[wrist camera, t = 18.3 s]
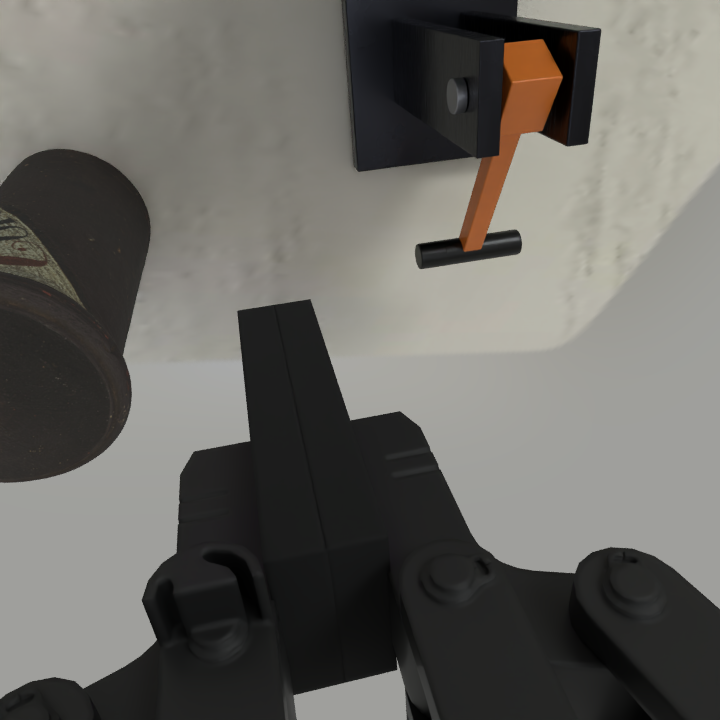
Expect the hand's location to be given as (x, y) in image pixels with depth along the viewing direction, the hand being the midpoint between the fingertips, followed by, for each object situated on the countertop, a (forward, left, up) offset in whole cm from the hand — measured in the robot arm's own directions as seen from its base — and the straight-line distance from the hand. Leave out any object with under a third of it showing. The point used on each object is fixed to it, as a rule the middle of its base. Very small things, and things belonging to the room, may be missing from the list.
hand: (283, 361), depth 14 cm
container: (-10, -5, -29) cm, 31 cm away
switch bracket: (+12, +2, -28) cm, 31 cm away
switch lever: (+12, -2, -19) cm, 23 cm away
